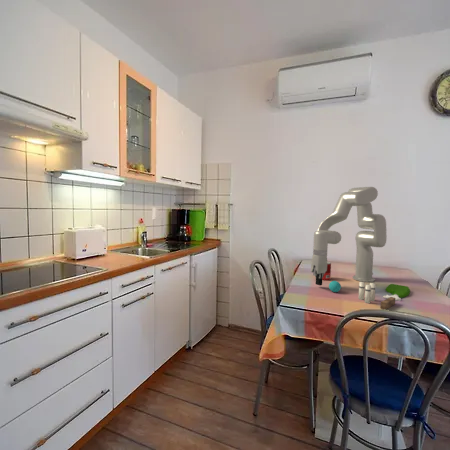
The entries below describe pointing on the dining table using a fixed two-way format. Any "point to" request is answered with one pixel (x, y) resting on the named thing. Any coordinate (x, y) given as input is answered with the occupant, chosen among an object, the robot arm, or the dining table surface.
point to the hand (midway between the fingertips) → (318, 284)
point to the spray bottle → (397, 291)
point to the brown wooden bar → (387, 303)
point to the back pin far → (372, 291)
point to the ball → (334, 286)
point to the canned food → (327, 272)
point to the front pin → (361, 290)
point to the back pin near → (367, 293)
